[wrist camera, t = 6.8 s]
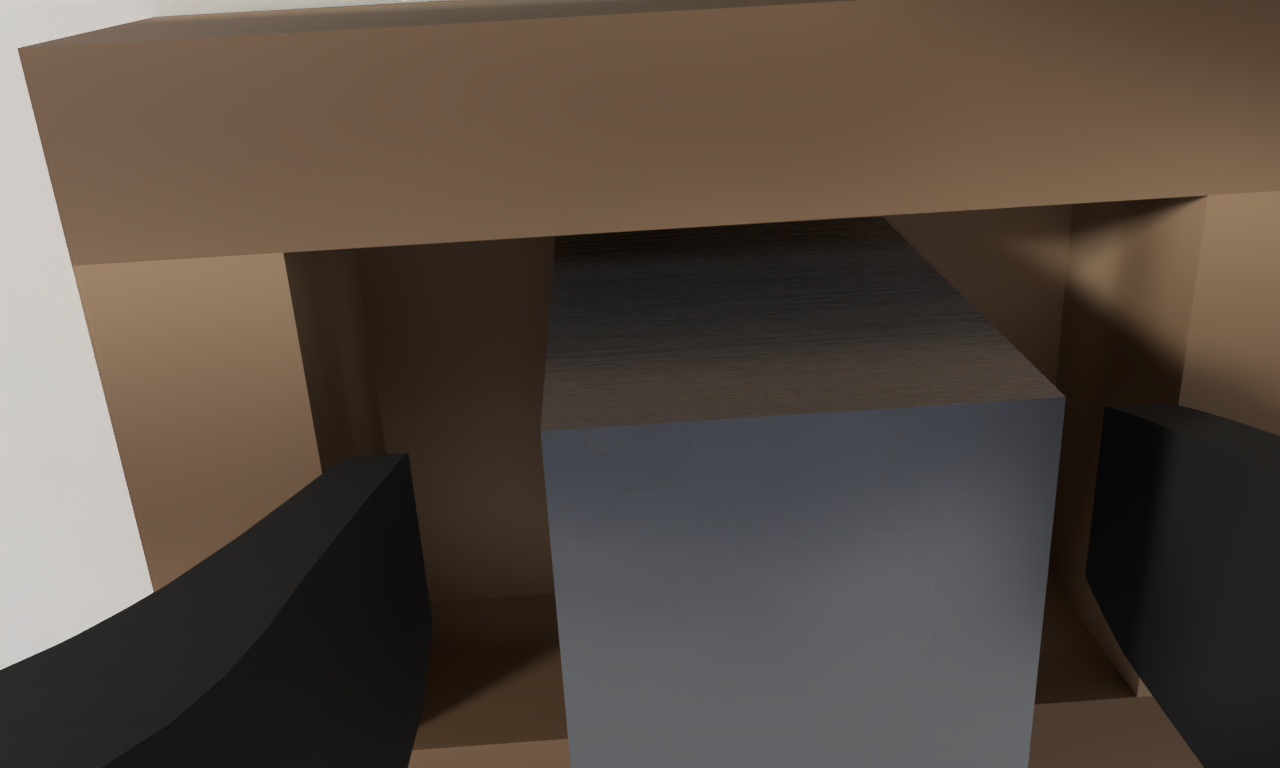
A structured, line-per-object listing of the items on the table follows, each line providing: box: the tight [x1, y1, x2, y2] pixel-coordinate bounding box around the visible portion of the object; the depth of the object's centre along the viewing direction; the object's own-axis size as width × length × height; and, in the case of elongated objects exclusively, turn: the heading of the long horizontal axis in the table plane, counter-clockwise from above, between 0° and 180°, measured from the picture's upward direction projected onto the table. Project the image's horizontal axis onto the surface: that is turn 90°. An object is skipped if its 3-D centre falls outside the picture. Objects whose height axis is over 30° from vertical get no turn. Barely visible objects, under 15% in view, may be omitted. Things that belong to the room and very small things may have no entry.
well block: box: [18, 0, 1280, 768], centre depth 14 cm, size 10×13×4 cm
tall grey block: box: [540, 216, 1066, 768], centre depth 12 cm, size 4×4×6 cm
